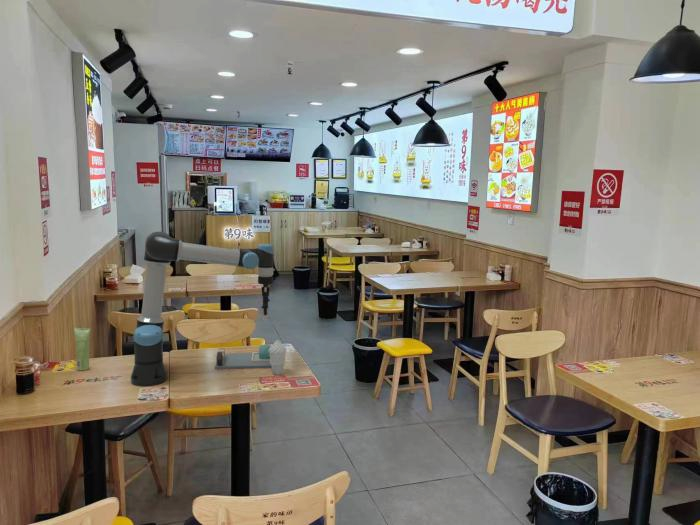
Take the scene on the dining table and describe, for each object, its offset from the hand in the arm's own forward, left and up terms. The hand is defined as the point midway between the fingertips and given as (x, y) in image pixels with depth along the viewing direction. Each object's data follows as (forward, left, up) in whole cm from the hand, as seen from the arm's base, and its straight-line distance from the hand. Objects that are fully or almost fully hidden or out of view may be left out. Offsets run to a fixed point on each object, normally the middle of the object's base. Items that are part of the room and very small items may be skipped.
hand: (265, 317), depth 257 cm
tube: (-83, -8, -22) cm, 86 cm away
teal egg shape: (0, 0, -20) cm, 20 cm away
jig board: (-8, -2, -22) cm, 23 cm away
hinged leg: (-21, -4, -20) cm, 30 cm away
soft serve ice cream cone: (+6, -20, -22) cm, 30 cm away
